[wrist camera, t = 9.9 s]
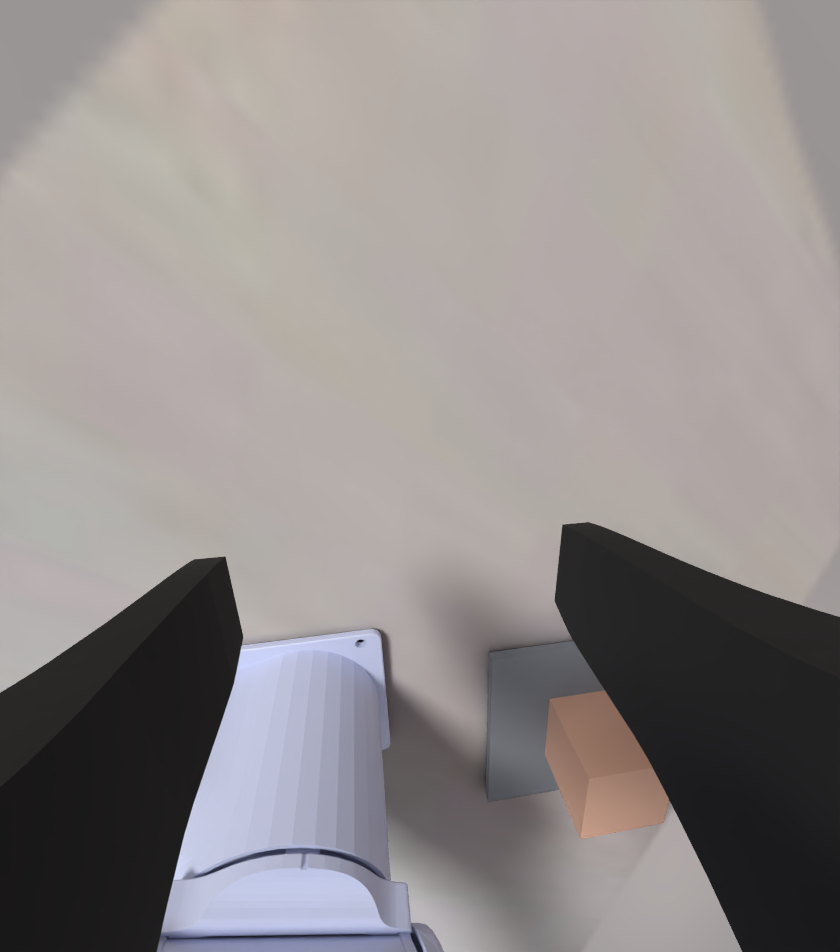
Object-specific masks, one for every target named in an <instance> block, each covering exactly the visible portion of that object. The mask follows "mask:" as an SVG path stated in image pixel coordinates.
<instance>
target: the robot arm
mask: <svg viewBox="0 0 840 952" xmlns="http://www.w3.org/2000/svg"><path fill="white" fill-rule="evenodd" d="M555 603H556V605H557V607H558V609H559V612H560V614H561V616H562V618H563V621H564V623H565V625H566V627H567V629H568V631H569V633H570V635H571V637H572V639H573V641H574V643H575V644H576V646H577V648H578V649H579V651H580V653H581V654H582V656H583V657H584V659H585V660H586V662H587V664H588V665H589V667H590V668H591V670H592V671H593V673H594V675H595V676H596V678H597V679H598V681H599V682H600V684H601V685H602V687H603V688H604V690H605V692H606V693H607V695H608V696H609V698H610V699H611V701H612V702H613V704H614V705H615V707H616V709H617V710H618V712H619V713H620V715H621V716H622V718H623V719H624V721H625V722H626V724H627V726H628V727H629V729H630V730H631V732H632V733H633V735H634V736H635V738H636V740H637V742H638V743H639V745H640V747H641V748H642V750H643V752H644V753H645V755H646V757H647V758H648V760H649V762H650V764H651V766H652V768H653V770H654V772H655V773H656V775H657V777H658V779H659V781H660V783H661V785H662V787H663V789H664V791H665V793H666V795H667V796H668V798H669V800H670V802H671V804H672V806H673V808H674V810H675V812H676V814H677V816H678V818H679V820H680V822H681V824H682V826H683V828H684V830H685V832H686V833H687V836H688V838H689V840H690V842H691V844H692V846H693V848H694V850H695V852H696V854H697V856H698V858H699V860H700V862H701V864H702V866H703V868H704V870H705V872H706V874H707V876H708V878H709V880H710V883H711V885H712V887H713V889H714V891H715V894H716V896H717V898H718V900H719V902H720V904H721V907H722V909H723V911H724V913H725V915H726V917H727V919H728V922H729V924H730V926H731V928H732V930H733V932H734V935H735V937H736V939H737V941H738V943H739V945H740V948H741V950H742V952H840V617H837V616H834V615H831V614H827V613H824V612H820V611H817V610H814V609H811V608H808V607H805V606H802V605H799V604H796V603H793V602H790V601H787V600H784V599H780V598H777V597H774V596H771V595H768V594H765V593H763V592H760V591H757V590H754V589H751V588H749V587H746V586H743V585H741V584H738V583H736V582H733V581H730V580H728V579H725V578H723V577H720V576H718V575H715V574H712V573H710V572H707V571H705V570H703V569H700V568H698V567H695V566H693V565H690V564H688V563H686V562H683V561H681V560H679V559H676V558H674V557H672V556H669V555H667V554H665V553H662V552H660V551H658V550H656V549H653V548H651V547H649V546H647V545H644V544H642V543H640V542H637V541H635V540H633V539H631V538H628V537H626V536H624V535H621V534H619V533H616V532H614V531H612V530H609V529H607V528H604V527H601V526H599V525H596V524H592V523H589V522H587V523H577V524H566V525H563V526H562V536H561V545H560V555H559V564H558V574H557V583H556V593H555ZM360 639H361V640H365V641H364V642H357V640H360ZM242 641H243V634H242V629H241V625H240V620H239V616H238V611H237V607H236V602H235V598H234V593H233V589H232V584H231V580H230V575H229V571H228V566H227V562H226V557H217V558H206V559H195V560H193V561H191V562H189V563H188V564H186V565H185V566H183V567H182V568H180V569H179V570H177V571H176V572H174V573H173V574H172V575H170V576H169V577H168V578H166V579H165V580H164V581H162V582H161V583H159V584H158V585H157V586H155V587H154V588H153V589H151V590H150V591H149V592H147V593H146V594H145V595H143V596H142V597H141V598H139V599H138V600H137V601H135V602H134V603H133V604H131V605H130V606H128V607H127V608H126V609H124V610H123V611H122V612H120V613H119V614H118V615H116V616H115V617H114V618H112V619H111V620H109V621H108V622H107V623H105V624H104V625H102V626H101V627H99V628H98V629H97V630H95V631H94V632H92V633H91V634H89V635H88V636H86V637H85V638H83V639H82V640H81V641H79V642H78V643H76V644H75V645H73V646H72V647H70V648H69V649H67V650H66V651H65V652H63V653H62V654H60V655H59V656H57V657H56V658H54V659H53V660H51V661H50V662H49V663H47V664H45V665H44V666H42V667H41V668H39V669H38V670H36V671H35V672H33V673H32V674H30V675H28V676H27V677H25V678H24V679H22V680H20V681H19V682H17V683H16V684H14V685H12V686H11V687H9V688H7V689H6V690H4V691H2V692H1V693H0V952H444V951H443V949H442V947H441V944H440V942H439V940H438V939H437V937H436V935H435V934H434V932H433V931H432V930H431V929H430V928H429V927H428V926H427V925H425V924H422V923H411V918H410V907H409V896H408V886H407V884H406V883H401V882H393V881H391V878H390V864H389V848H388V833H387V818H386V803H385V787H384V772H383V757H382V750H385V749H387V748H388V747H389V746H390V743H391V742H390V730H389V719H388V708H387V697H386V685H385V674H384V663H383V652H382V640H381V634H380V633H379V632H378V631H377V630H374V629H368V630H360V631H352V632H344V633H336V634H329V635H321V636H313V637H305V638H297V639H289V640H281V641H273V642H265V643H257V644H249V645H242Z"/></svg>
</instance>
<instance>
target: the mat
mask: <svg viewBox="0 0 840 952" xmlns="http://www.w3.org/2000/svg"><path fill="white" fill-rule="evenodd" d="M597 691H604V688H603V687H602V685H601V684H600V682H599V681H598V679H597V678H596V676H595V675H594V673H593V671H592V670H591V668H590V667H589V665H588V664H587V662H586V660H585V659H584V657H583V656H582V654H581V653H580V651H579V649H578V648H577V646H576V644H575V643H574V641H568V642H561V643H553V644H546V645H539V646H531V647H524V648H517V649H509V650H502V651H495V652H489V674H488V713H487V752H486V796H487V799H488V802H492V801H497V800H503V799H509V798H514V797H520V796H526V795H531V794H537V793H542V792H548V791H554V790H559V787H558V785H557V782H556V780H555V778H554V775H553V773H552V771H551V768H550V766H549V764H548V761H547V759H546V756H545V747H546V735H547V724H548V712H549V700H550V699H553V698H559V697H566V696H572V695H578V694H585V693H591V692H597Z"/></svg>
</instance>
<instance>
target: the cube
mask: <svg viewBox="0 0 840 952" xmlns="http://www.w3.org/2000/svg"><path fill="white" fill-rule="evenodd" d="M545 756H546V759H547V761H548V764H549V766H550V768H551V771H552V773H553V775H554V778H555V780H556V782H557V785H558V787H559V790H560V792H561V794H562V797H563V799H564V801H565V804H566V806H567V808H568V811H569V813H570V816H571V818H572V820H573V823H574V825H575V827H576V830H577V832H578V834H579V837H580V839H584V838H589V837H594V836H599V835H605V834H610V833H615V832H620V831H625V830H630V829H635V828H640V827H645V826H650V825H655V824H661V823H664V819H665V815H666V811H667V807H668V803H669V798H668V796H667V795H666V793H665V791H664V789H663V787H662V785H661V783H660V781H659V779H658V777H657V775H656V773H655V772H654V770H653V768H652V766H651V764H650V762H649V760H648V758H647V757H646V755H645V753H644V752H643V750H642V748H641V747H640V745H639V743H638V742H637V740H636V738H635V736H634V735H633V733H632V732H631V730H630V729H629V727H628V726H627V724H626V722H625V721H624V719H623V718H622V716H621V715H620V713H619V712H618V710H617V709H616V707H615V705H614V704H613V702H612V701H611V699H610V698H609V696H608V695H607V693H606V692H605V690H604V691H597V692H591V693H585V694H578V695H572V696H566V697H559V698H553V699H550V700H549V712H548V724H547V735H546V747H545Z"/></svg>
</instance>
